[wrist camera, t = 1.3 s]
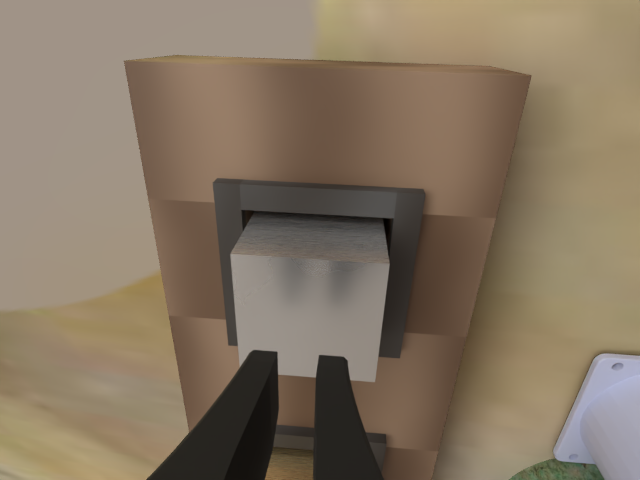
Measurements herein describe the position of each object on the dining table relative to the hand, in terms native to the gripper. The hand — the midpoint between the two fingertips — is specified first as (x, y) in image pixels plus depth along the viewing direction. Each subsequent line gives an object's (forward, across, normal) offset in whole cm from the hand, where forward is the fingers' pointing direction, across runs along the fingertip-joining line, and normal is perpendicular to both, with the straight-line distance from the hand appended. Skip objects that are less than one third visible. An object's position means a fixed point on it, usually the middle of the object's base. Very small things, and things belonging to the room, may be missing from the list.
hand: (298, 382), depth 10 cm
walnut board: (+9, 0, +6) cm, 11 cm away
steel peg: (+7, 0, 0) cm, 7 cm away
